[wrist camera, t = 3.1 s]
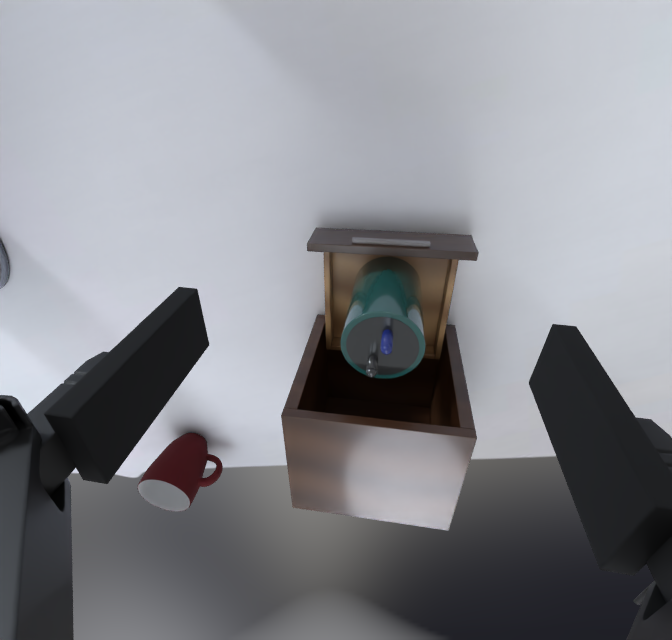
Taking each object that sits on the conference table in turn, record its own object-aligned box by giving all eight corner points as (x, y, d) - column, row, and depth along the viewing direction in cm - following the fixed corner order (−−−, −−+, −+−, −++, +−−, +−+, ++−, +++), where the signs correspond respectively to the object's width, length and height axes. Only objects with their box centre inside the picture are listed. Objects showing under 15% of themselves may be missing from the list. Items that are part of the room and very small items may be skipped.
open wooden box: (317, 314, 45) (281, 415, 32) (455, 325, 43) (477, 438, 30) (320, 398, 53) (292, 507, 39) (437, 410, 51) (448, 530, 37)
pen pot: (345, 266, 39) (322, 339, 28) (411, 248, 37) (414, 320, 26) (365, 320, 42) (352, 404, 32) (427, 307, 40) (436, 392, 30)
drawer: (315, 223, 38) (306, 239, 34) (472, 230, 36) (479, 248, 32) (319, 336, 45) (312, 358, 42) (448, 347, 43) (452, 371, 40)
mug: (225, 425, 59) (196, 482, 51) (238, 457, 64) (213, 515, 55) (165, 422, 61) (128, 477, 53) (181, 454, 66) (149, 509, 57)
